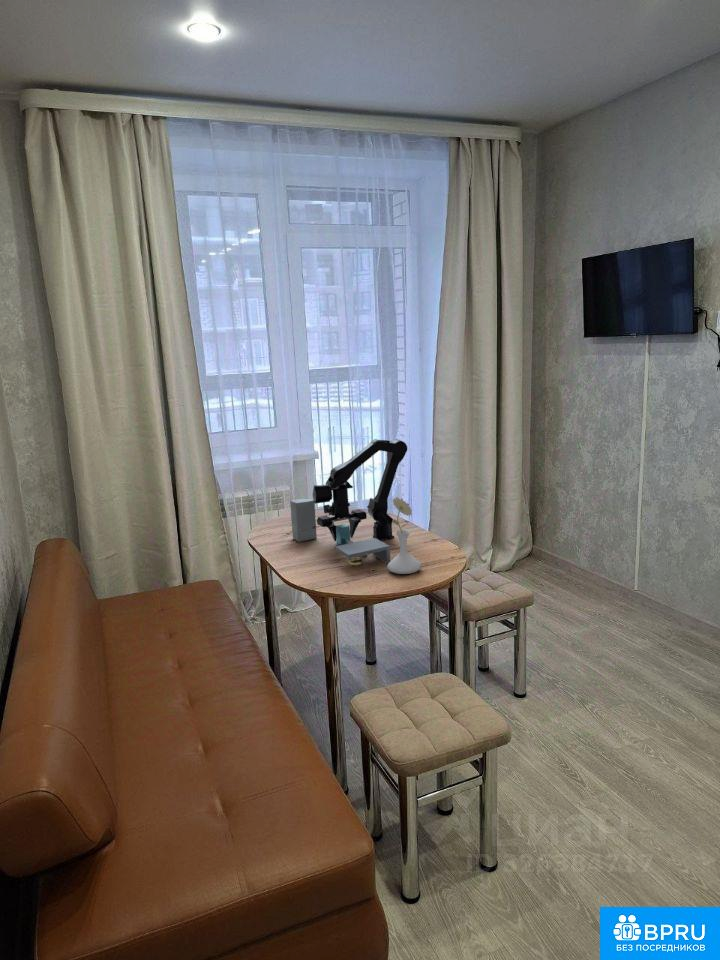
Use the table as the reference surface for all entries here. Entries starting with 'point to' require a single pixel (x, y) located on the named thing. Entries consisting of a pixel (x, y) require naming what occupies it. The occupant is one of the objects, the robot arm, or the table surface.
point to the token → (355, 562)
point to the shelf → (366, 549)
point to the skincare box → (303, 519)
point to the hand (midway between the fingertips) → (343, 539)
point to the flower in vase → (403, 545)
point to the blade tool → (343, 535)
